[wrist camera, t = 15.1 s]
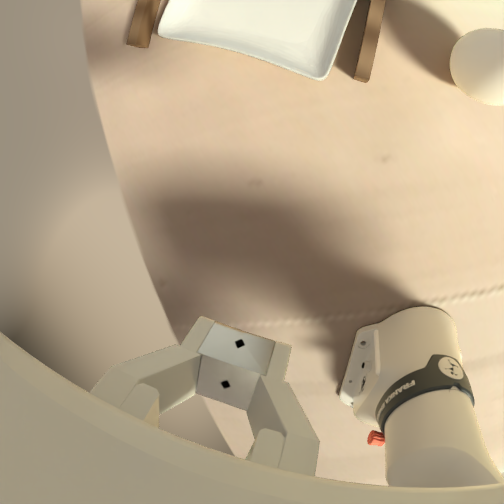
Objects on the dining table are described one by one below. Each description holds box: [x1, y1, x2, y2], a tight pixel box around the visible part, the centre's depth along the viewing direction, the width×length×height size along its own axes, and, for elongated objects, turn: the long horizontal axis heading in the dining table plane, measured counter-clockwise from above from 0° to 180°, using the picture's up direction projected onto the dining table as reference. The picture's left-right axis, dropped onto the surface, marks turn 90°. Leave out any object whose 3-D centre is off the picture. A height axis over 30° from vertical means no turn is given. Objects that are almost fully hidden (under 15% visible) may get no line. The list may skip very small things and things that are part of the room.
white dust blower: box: [450, 28, 504, 105], centre depth 18 cm, size 8×8×18 cm
